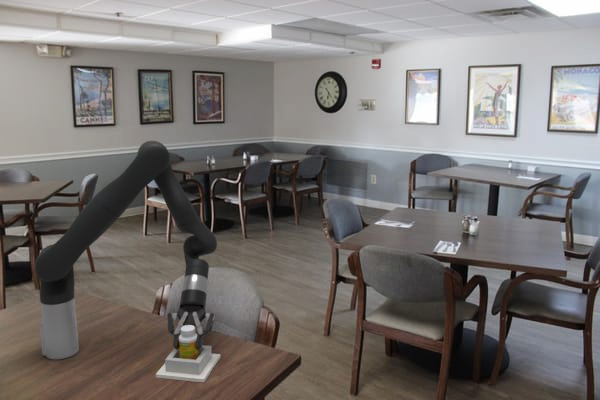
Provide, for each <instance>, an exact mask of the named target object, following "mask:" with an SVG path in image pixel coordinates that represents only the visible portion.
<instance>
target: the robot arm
mask: <svg viewBox="0 0 600 400" xmlns="http://www.w3.org/2000/svg"><path fill="white" fill-rule="evenodd" d="M152 181H154V183H155V184H156V186H157V188H158V189H159V191H160V194H161V196H162V198H163V200H164V203H165V205H166V206H167V209H168V211H169V213H170V215H171V217H172V219H173V221H174V222H175V225H176V226H177V228H178V230H179V231H180V232H181V233H182V234H183V233H185V234H187V233H188V234H192V235H190V236H188V237H187V238H186V239H185V240H184V242H183V245H182V246H183V247H182V248H183V255H184V261H185V272H184V276H183V277H184V280H183V282H182V287H181V293H180V301H179V308H178V310H177V312H173V313H172V312H168V313H167V331H168V334H170V335H171V336H173V341H172V342H173V343H172V345H173V348H174V349H176V350H178V349H179V336H180V335H181V327H183V326H185V325H193V326H194V327H195V328H196V330H197V332H198V334H197V343H196V349H197V350H200V348H202V345H203V344H204V343H203V342H204V337H205V336H210V335H211V332H212V329H213V326H214V322H215V320H216V319H215V318H216V317H215V314H214V313H213V312H211V313H210V312H209V313H208V312H206V304H207V298H208V297H207V296H208V289H209V288H208V282H209V281H208V279H209V270H210V268H209V267H210V265H209V262H208V261H206V260H205V259H201V258H200V257H202V256H206V255H210V254H213V253H214V252H215V251H216V250H217V248H218V242H217V238H216V236H215V234H214V233H213V231H212V230H210V228H209V227H208V226H207V225H206V224H205V223H204V222H203V221H202V220H201V219H200V217H199V216H198V214H197V212H196V210H195V208H194V206H193V204H192V202H191V201H190V199H189V197H188V195H187V194H186V192H185V191H184V189H183V188H182V186H181V184H180V182H179V180H178V178H177V176H176V174H175V173H174V169H173V166H172V165H171V155H170V152H169V150H168V148H167V147H166V146H165V145H164V144H163V143H161V142H160V141H156V140H148V141H145V142H143V143H142V144H141V145H140V146H139V148H138V151H137V154H136V156H135V158H134V159H133V161H131V163H130V164H129V166H127V168H126V169H125V170H124V171H123V172H122V173H121V174H120V175H118V177H116V178H115V179H114V180H112V181H111V182H110V183H108V184H107V185H106V186H104V187H103V188H102V189H101V190H100V191H98V192H97V193H96V194H95V195H94V197H92V199H90V201H89V202H88V203H87V204H86V205H85V206H84V207H83V209H82V210H81V211H80V212H79V214H78V215H77V216H76V217H75V219H74V221H73V222H72V223H71V225H70V226H69V228H68V230H66V232H65V233H64V234H63V235H62V236H61V237H60V238H59V239H58V240H57V241H56V242H55V243H53V244H50V245H47V246H45V247H44V248H43V249H42V250H41V251H40V253H39V254H38V255H37V258H36V260H35V263H34V271H35V274H36V276H37V277H38V278H39V279H40V287H39V302H40V311H41V312H40V313H41V321H42V323H41V324H40V325H39V333H40V334H39V335H40V343H41V344H40V345H41V354H42V356H45V357H46V358H47V359H50V360H64V359H67V358H71V357H72V356H74V355H76V354H77V353H78V352H79V350H80V345H79V335H78V323H77V312H76V311H77V309H76V302H75V301H76V300H75V299H76V298H75V271H74V266H75V263H76V262H77V261H78V260H79V258H81V256H82V255H83V254H84V252H85V251H87V249H88V248H89V247H90V246H91V245H93V244H94V243H95V242H96V241H97V240H98V239H99V238H100V237H101V236H103V234H105V233H106V232H107V231H108V229H110V228H111V227H112V226H113V225H114V224H115V223H116V222H117V221H118V219H119V218H120V217H121V216H122V215H124V213H125V211H126V210H127V209H128V208H129V207H130V206H131V205H132V203H133V202H134V201H135V199H136V198H137V196H138V195H140V193H141V192H142V191H143V190H144V189H145V188H146V187H147V186H148V185H149V184H151V182H152ZM177 318H178V319H179V322H178V323H177V327H176V328H175V326H174V324H175V323H174V322H175V321H176V319H177ZM205 318H206V326H205V328H204V329H203V327H202V324H201V323H202V322H203V321H204V319H205Z"/></svg>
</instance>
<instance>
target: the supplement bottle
mask: <svg viewBox="0 0 600 400" xmlns="http://www.w3.org/2000/svg"><path fill="white" fill-rule="evenodd" d="M197 335H198V334H197V332H196V327H194V326H193V325H185V326H183V327H181V335H180V336H179V358H182V359H192V360H196V359H197V358H198V350H197V349H196V343H197Z"/></svg>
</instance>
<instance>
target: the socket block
mask: <svg viewBox="0 0 600 400" xmlns="http://www.w3.org/2000/svg"><path fill="white" fill-rule="evenodd" d="M220 359H221V354H220V353H212V345H203V344H202V348H200V350H198V358H197V359H196V360H192V359H182V358H179V349H178V350H176V349H175V348H174V349H173V350H172V351H171V352H170V353H169V354H168V355H167V357H166V358H165V359H164V364H163V365H162V366H161V368H160V369H158V371H157V372H155V378H158V379H167V380H176V381H186V382H193V383H194V382H195V383H205V382H206V380H207V379H208V377H209V376H210V374H211V373H212V371H213V370H214V368H215V366H216V365H217V363H218V361H219V360H220Z"/></svg>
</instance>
